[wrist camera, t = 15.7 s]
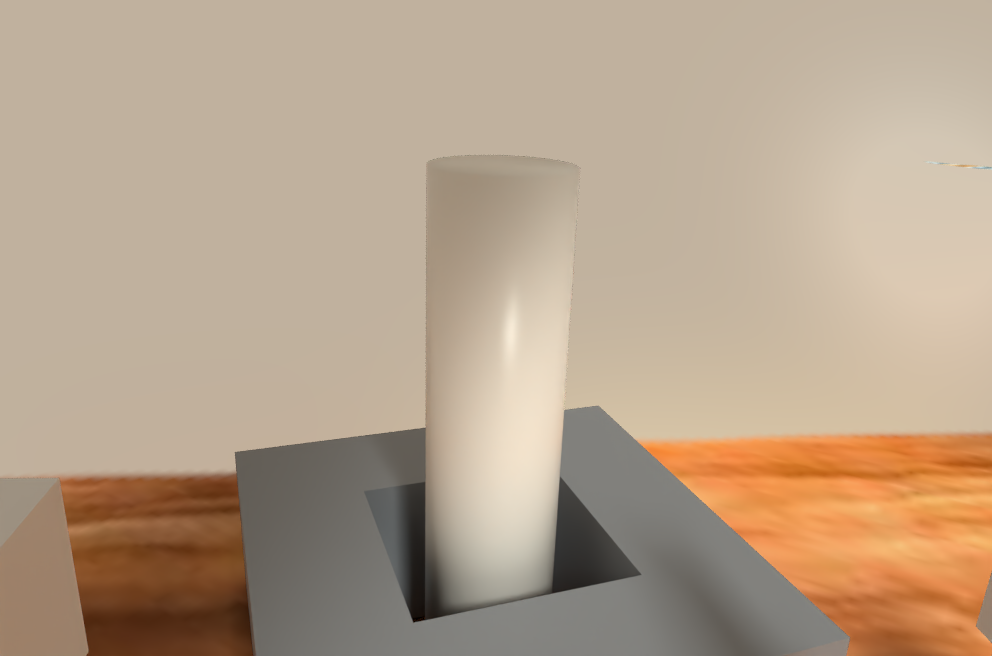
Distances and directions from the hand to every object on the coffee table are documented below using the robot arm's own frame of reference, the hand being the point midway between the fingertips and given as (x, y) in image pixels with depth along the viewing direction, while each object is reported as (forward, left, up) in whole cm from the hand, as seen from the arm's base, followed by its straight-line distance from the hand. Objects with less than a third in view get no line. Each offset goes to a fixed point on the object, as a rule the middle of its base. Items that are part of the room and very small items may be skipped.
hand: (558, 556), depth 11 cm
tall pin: (-2, -9, -11) cm, 15 cm away
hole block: (-3, -9, -11) cm, 15 cm away
